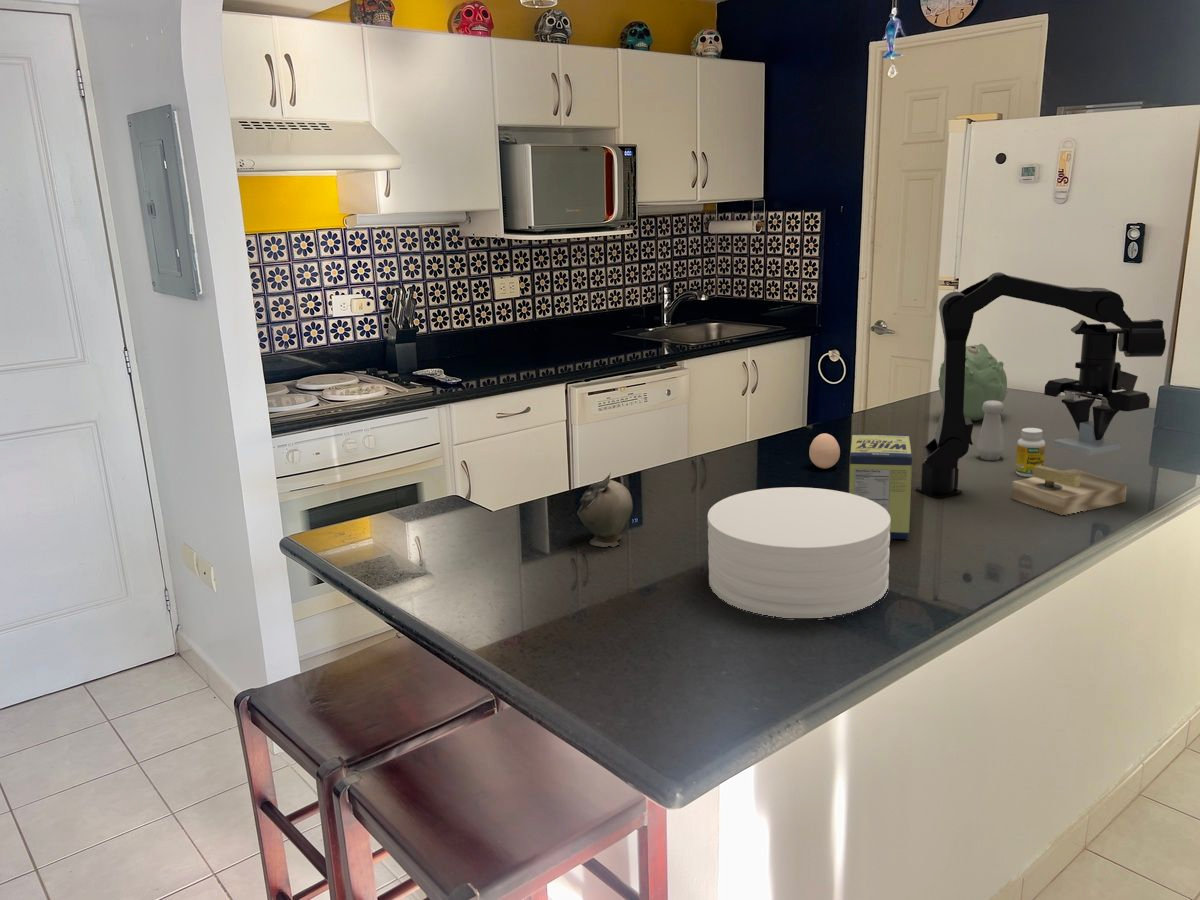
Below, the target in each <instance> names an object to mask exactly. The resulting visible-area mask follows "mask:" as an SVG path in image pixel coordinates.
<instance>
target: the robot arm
mask: <svg viewBox="0 0 1200 900" xmlns="http://www.w3.org/2000/svg"><path fill="white" fill-rule="evenodd" d="M1002 296H1004V297H1009V298H1014V299H1018V300H1019V299H1020V300H1024V301H1029V302H1034V303H1039V304H1044V305H1048V306H1054V307H1058V308H1061V309H1066V310H1069V311H1070V312H1071V311H1072V312H1073V313H1075V314H1078V315H1081V316H1083V317H1085V318H1088V319H1091V320H1093V321H1096V322H1098V323H1087V322H1086V320H1083V319H1081V320H1079V322H1078V323H1077V324H1076V325H1074V326H1073V327H1071V329H1070V331H1071V332H1072V333H1073V334H1075V335H1082V341H1081V349H1080V350H1081V352H1080V361H1077V362H1075V364H1074V369H1079V374H1078V375H1079V379H1073V378H1068V377H1062V378H1057V379H1050V380H1048V381H1047V383H1046V384H1045V385H1044V392H1043V394H1044V395H1045V396H1049V397H1053V398H1054V397H1055V398H1057V397H1059V396H1060V395H1061V394H1062V393H1064V398H1063V399H1061V403H1062V404H1064V406H1066V409H1067V410H1068V412H1069V414H1070V416H1071V418H1072V420H1073V422H1074V424H1075V426H1076V428H1077V431H1078V432H1079V428H1080V423H1081V422H1086V421H1090V412H1091V408H1092V416H1093V417H1092V419H1093V420H1092V421H1094V433H1095V438H1096V440H1101V439H1102V437H1103V436H1104V437H1105V434H1106V431H1107V429H1108V428H1109V426H1110V423H1111V422H1112V421H1113V418H1115V415H1116V414H1118V413H1119V411H1120V412H1133V411H1139V410H1145V409H1149V408H1150V402H1151V399H1150V398H1151V397H1150V396H1149V394H1148V393H1147V392H1145V391H1138V390H1134V389H1135V386H1136V382H1137V381H1138V378H1139V376H1138V375H1135V374H1133V373H1130V372H1127V371H1123V370H1121V369H1122V365H1121V362H1118V361H1116V359H1117V358H1116V357H1117V348H1118V351H1119V352H1123V355H1124V357H1126V358H1145V357H1146V358H1150V357H1151V358H1155V357H1156V358H1157V357H1162V356H1163V355H1164V353H1165V350H1166V347H1167V346H1166V345H1167V339H1166V335H1165V329H1164V327H1163V326H1164V320H1162V319H1159V318H1155V319H1154V318H1153V319H1149V320H1148V319H1147V320H1146V319H1145V320H1132V319H1131V317H1130V316H1129V315H1128V314H1127V313H1126V311H1125V310H1124V307H1125V304H1124V303H1125V302H1124V300H1123V298H1122V296H1121V295H1120V294H1119V293H1117V292H1115V291H1112V290H1110V289H1108V288H1104V287H1085V286H1084V287H1083V286H1081V287H1071V286H1070V287H1067V286H1062V285H1057V284H1053V283H1047V282H1044V281H1043V282H1042V281H1038V280H1032V279H1027V278H1022V277H1018V276H1012V275H1008V274H1006V273H1003V272H1000V271H999V272H998V271H997V272H994V273H992V274H990V275H989V276H987V277H986V278H984V279H982V280H980V281H978V282H976V283H974V284H972V285H970V286H968V287H966V288H964V289H963V290H961V291H951V292H948V293H947V294H945V295H944V296H943V297H942V298H941V299H940V302H939V305H938V310H939V311H938V312H939V317H940V323H941V328H942V334H943V338H944V347H943V348H944V351H943V352H944V353H943V362H944V378H943V399H942V407H941V413H940V416H939V418H938V419H939V420H938V421H937V427H936V431H935V436H934V438H933V439H932V440H931V441H929V442H928V443H927V444H926V445H924V446H923V452H924V455H925V458H926V459H925V461H924V462H922V464H921V482H920V483H921V486H918V487H915V491H917V492H920V493H922V494H924V495H927V496H930V497H933V498H935V499H941V498H945V497H950V496H956V495H960V494H963V491H962V490H961V489H959V488H958V487H959V467H958V464H959V460H960V459H962V458H963V457H964V456H965V455H967V453H969V448H970V446H973V445H974V443H973V441H972V433H973V430H974V429H973V428H974V424H973V421H971V420H970V418H969V417H968V418H964V413H963V409H964V383H965V357H966V346H967V341H968V337H969V333H970V331H971V328H972V323H973V320H974V315H975V314H976V313H977V312H979V311H980V310H982V309H984V308H985V307H987V306H989V304H991V303H993V301H995V300H997V299H998V298H999V297H1002ZM1108 323H1110V324H1113V325H1114V326H1116V327H1119V328H1109V327H1108V328H1107V326H1106V324H1108ZM1114 391H1115V392H1114ZM1096 400H1098V401H1100V405H1096V406H1093V405H1094V403H1095V402H1096Z"/></svg>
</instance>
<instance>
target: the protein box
mask: <svg viewBox="0 0 1200 900" xmlns="http://www.w3.org/2000/svg"><path fill="white" fill-rule="evenodd" d="M912 467H913V455H912V449H911V442H910V435H909V434H892V433H891V434H890V433H889V434H885V433H881V434H879V433H852V434H851V445H850V457H849V493H850V494H854V495H857V496H861V497H864V498H866V499H869V500H871V501H873V502H875V503H877V504H879V505H881V506H882V507H883V508H884V509H886V510H887V512H888V513H889V515H890V518H891V524H890V531H889V532H890V540H893V539H909V540H910V523H911V522H910V521H911V520H910V519H911V496H912V495H911V494H912V493H911V491H912V471H913V469H912Z"/></svg>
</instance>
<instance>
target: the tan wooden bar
mask: <svg viewBox="0 0 1200 900" xmlns="http://www.w3.org/2000/svg"><path fill="white" fill-rule="evenodd" d="M1065 471H1066V470H1062V469H1056V468H1053V467H1050V466H1049V467H1048V466H1045V465H1044V466H1041V465H1038V466H1034V472H1033V477H1037V478H1040V479H1044V480H1045V486H1047V487H1054V482H1056V483H1060V484H1064V485H1067V486H1071V487H1077V486H1080V476H1081V475H1078V474H1074V473H1069V472H1065Z"/></svg>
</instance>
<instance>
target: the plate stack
mask: <svg viewBox="0 0 1200 900" xmlns="http://www.w3.org/2000/svg"><path fill="white" fill-rule="evenodd" d="M890 524H891V518H890V515H889V513H888V512H887V510H886V509H884V508H883V507H882V506H881V505H879V504H877V503H875V502H873V501H871V500H869V499H866V498H864V497H861V496H857V495H854V494H850V492H845V491H839V490H834V489H827V488H818V487H817V488H816V487H815V488H814V487H802V486H801V487H797V486H796V487H795V486H792V487H770V488H761V489H755V490H749V491H745V492H740V493H736V494H733V495H730V496H728V497H725V498H723V499H721V500H719V501H718V502H716V503H715V504H713V505H712V506H711V507H710V508H709V510H708V512H707V527H708V528H707V540H708V545H707V547H708V549H707V551H708V553H707V554H708V584H709V587H711V588H710V590H711V589H712V590H711V591H712V592H713V593H715V594H716V595H717V596H718V599H720V600H721V599H722V600H721V601H723V600H724V601H725V602H724V601H723V602H724V603H726V602H727V603H726V604H728V605H729V606H732V605H733V606H732V607H734V606H735V607H734V608H736V607H737V608H736V609H739V608H740V609H739V610H741V609H743V610H742V611H744V610H746V611H745V612H747V611H750V612H753V613H752V614H754V613H758V614H762V615H761V616H763V615H768V616H773V617H772V618H774V616H776V617H782V618H823V617H832V616H836V615H842V614H846V613H851V612H854V611H857V610H860V609H863V608H865V607H867V606H870V605H872V604H873V603H875V602H876V601H878V600H879V599H881V598H882V597H883V596H884V594H885V593H886V591H887V589H888V590H889V582H890V581H889V575H890V574H889V573H890V563H889V561H890V555H891V554H890V551H891V550H890V542H891V539H890V532H889V531H890ZM715 594H714V595H715ZM716 595H715V596H716ZM717 596H716V597H717ZM750 612H749V613H750ZM758 614H757V615H758ZM768 616H767V617H768ZM782 618H781V619H782Z"/></svg>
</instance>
